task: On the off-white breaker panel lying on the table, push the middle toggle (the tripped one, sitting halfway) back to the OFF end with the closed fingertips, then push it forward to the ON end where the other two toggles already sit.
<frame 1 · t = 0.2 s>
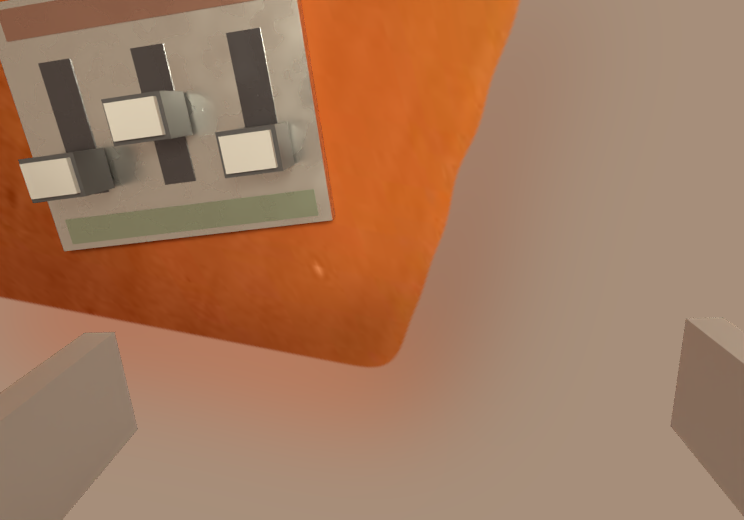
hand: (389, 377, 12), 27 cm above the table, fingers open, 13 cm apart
breaker 3: (256, 149, 34), point 4 cm above the table, slide at 3.0 cm
breaker 1: (67, 174, 35), point 4 cm above the table, slide at 3.0 cm
panel: (173, 116, 37), on the table
breaker 2: (148, 118, 34), point 4 cm above the table, slide at 0.0 cm
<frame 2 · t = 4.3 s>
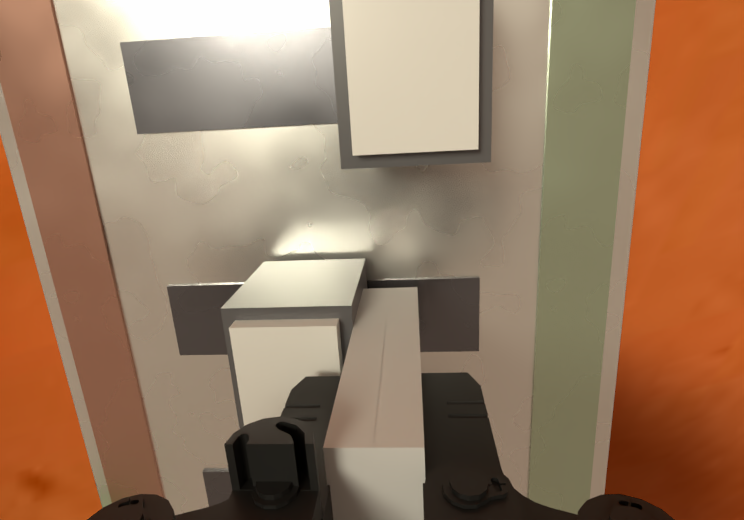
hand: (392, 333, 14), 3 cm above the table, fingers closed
breaker 3: (411, 64, 11), point 4 cm above the table, slide at 3.0 cm
panel: (330, 299, 17), on the table
breaker 2: (307, 353, 13), point 4 cm above the table, slide at 0.0 cm, touching gripper
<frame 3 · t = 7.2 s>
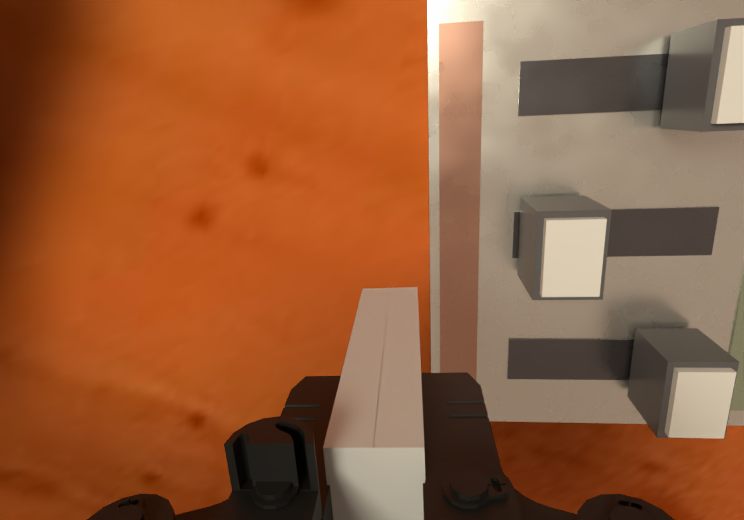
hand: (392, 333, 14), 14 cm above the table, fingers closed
breaker 3: (727, 77, 20), point 4 cm above the table, slide at 3.0 cm
breaker 1: (679, 382, 24), point 4 cm above the table, slide at 3.0 cm
panel: (601, 226, 26), on the table
breaker 2: (560, 246, 23), point 4 cm above the table, slide at -3.1 cm
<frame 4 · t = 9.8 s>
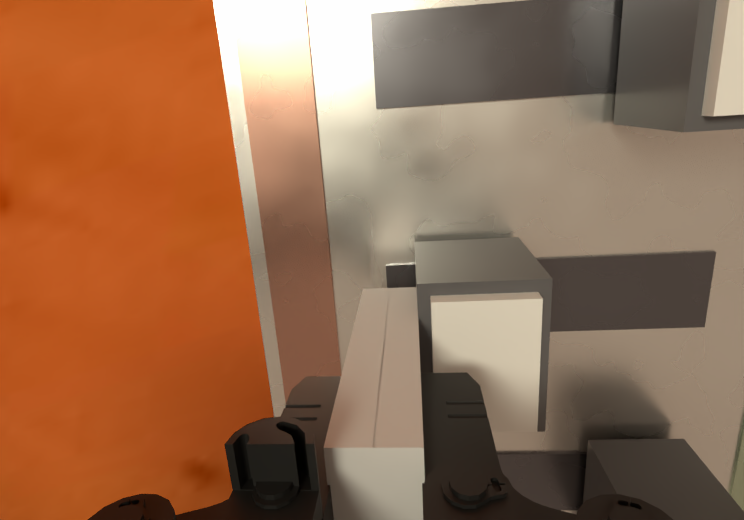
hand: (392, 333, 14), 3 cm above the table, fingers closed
breaker 3: (730, 27, 11), point 4 cm above the table, slide at 3.0 cm
panel: (532, 278, 17), on the table
breaker 2: (474, 331, 13), point 4 cm above the table, slide at -2.4 cm, touching gripper
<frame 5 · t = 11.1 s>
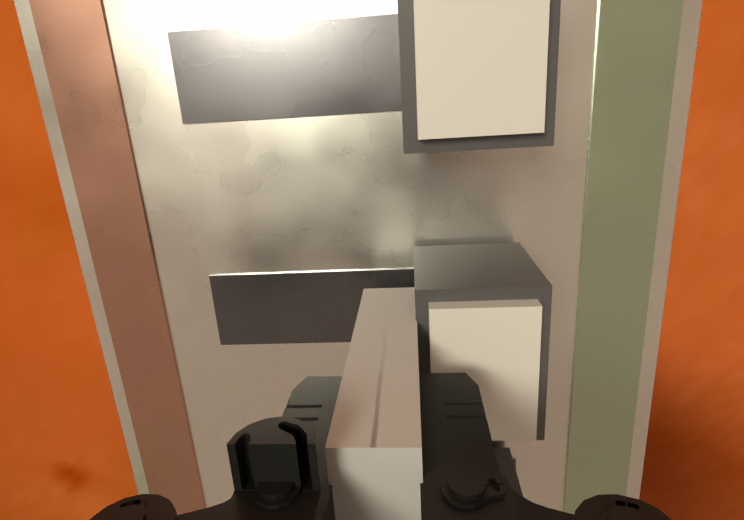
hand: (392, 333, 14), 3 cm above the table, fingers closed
breaker 3: (468, 50, 11), point 4 cm above the table, slide at 3.0 cm
panel: (368, 288, 17), on the table
breaker 2: (473, 337, 13), point 4 cm above the table, slide at 3.1 cm, touching gripper
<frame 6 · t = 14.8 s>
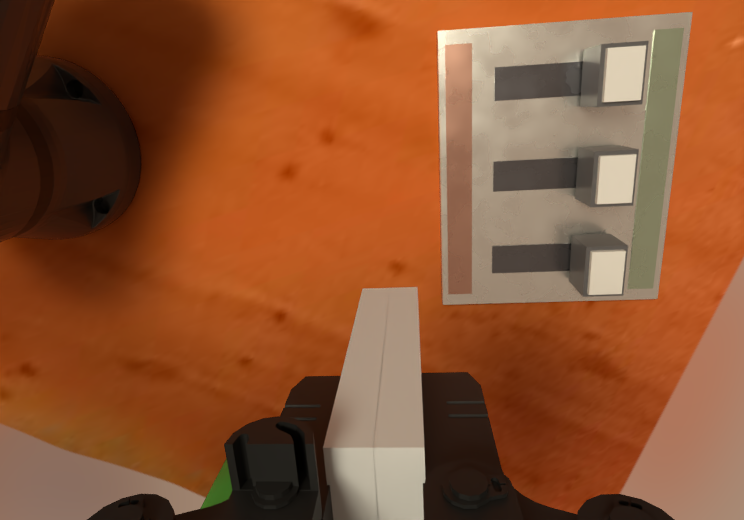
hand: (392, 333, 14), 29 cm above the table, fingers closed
breaker 3: (613, 75, 35), point 4 cm above the table, slide at 3.0 cm
bottle: (272, 461, 52), on the table
breaker 1: (597, 265, 39), point 4 cm above the table, slide at 3.0 cm
panel: (549, 171, 41), on the table
breaker 2: (605, 175, 37), point 4 cm above the table, slide at 3.1 cm
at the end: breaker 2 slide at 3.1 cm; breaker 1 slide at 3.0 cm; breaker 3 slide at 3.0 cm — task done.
